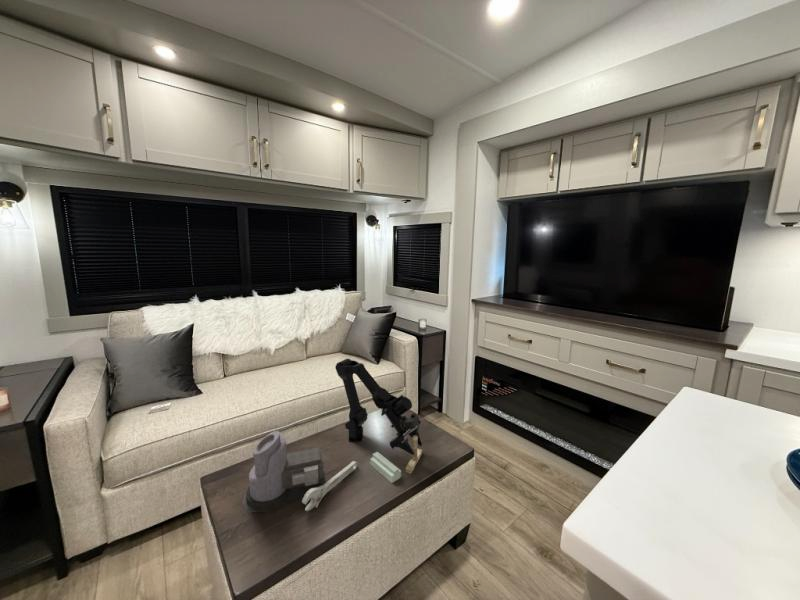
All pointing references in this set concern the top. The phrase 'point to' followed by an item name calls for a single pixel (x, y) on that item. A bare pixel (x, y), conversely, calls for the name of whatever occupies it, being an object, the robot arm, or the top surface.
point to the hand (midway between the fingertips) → (417, 449)
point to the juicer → (281, 474)
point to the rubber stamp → (416, 455)
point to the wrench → (326, 487)
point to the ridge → (385, 467)
